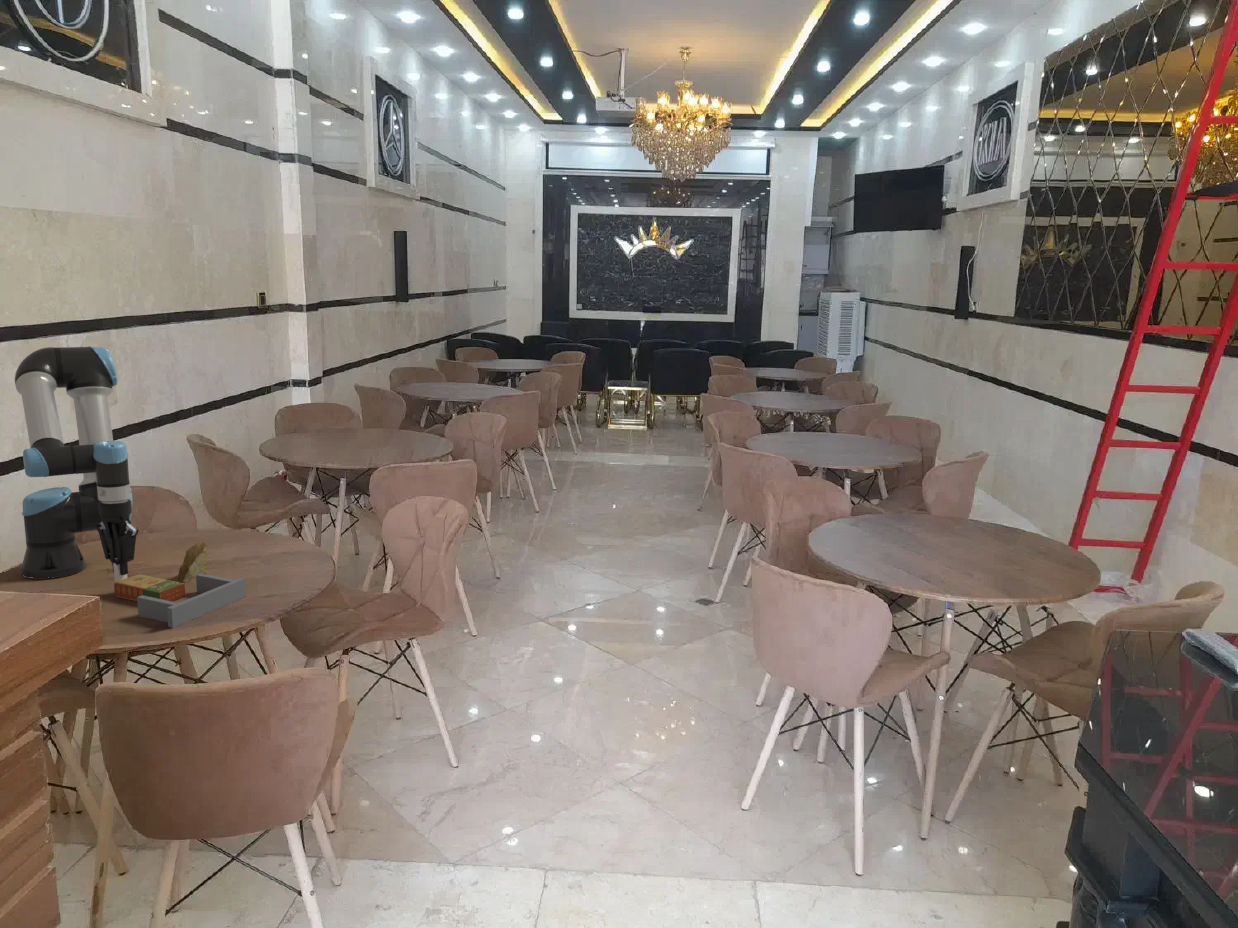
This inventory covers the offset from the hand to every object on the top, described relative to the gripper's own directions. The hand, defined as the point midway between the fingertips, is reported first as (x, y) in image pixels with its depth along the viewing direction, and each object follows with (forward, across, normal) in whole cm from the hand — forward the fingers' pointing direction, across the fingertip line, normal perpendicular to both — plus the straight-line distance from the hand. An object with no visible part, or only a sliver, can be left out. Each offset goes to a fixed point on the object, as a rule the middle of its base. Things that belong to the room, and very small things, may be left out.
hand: (121, 585), depth 231 cm
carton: (+3, +9, +1) cm, 9 cm away
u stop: (+2, +24, 0) cm, 24 cm away
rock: (+2, +6, +17) cm, 18 cm away
